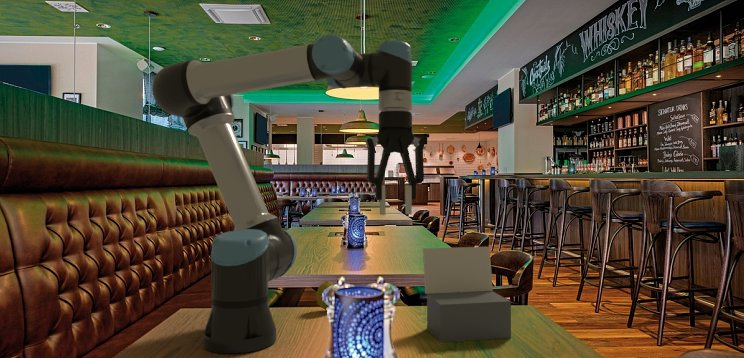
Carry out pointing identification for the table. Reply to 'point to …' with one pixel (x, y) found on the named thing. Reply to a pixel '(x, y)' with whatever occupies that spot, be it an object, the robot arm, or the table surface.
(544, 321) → the table surface
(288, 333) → the table surface
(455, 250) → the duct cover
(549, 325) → the table surface
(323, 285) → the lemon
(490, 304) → the box
